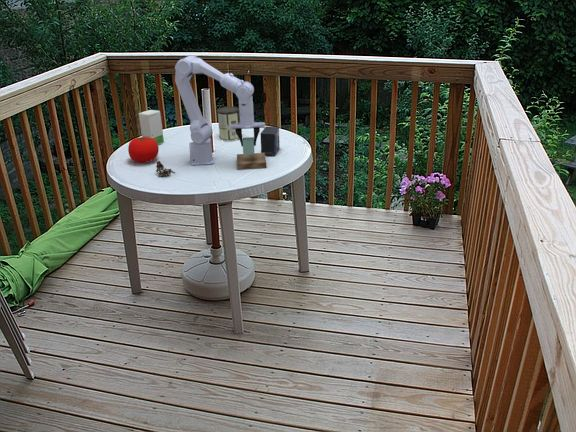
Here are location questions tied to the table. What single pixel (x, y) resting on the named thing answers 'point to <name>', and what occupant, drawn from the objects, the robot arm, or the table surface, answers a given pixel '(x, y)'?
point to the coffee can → (224, 119)
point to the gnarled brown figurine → (163, 170)
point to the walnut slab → (251, 161)
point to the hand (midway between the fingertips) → (248, 145)
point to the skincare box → (151, 125)
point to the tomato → (143, 149)
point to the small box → (270, 141)
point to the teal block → (248, 145)
